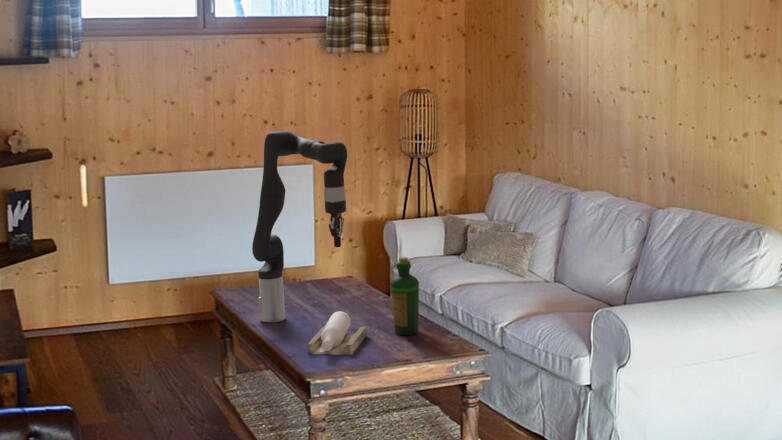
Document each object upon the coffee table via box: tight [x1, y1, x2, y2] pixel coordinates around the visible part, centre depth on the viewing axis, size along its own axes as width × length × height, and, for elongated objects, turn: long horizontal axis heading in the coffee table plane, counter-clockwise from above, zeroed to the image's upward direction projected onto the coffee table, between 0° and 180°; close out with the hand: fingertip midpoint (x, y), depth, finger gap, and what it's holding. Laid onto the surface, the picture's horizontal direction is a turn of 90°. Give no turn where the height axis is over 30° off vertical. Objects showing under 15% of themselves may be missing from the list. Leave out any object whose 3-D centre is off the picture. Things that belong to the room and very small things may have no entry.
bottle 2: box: [389, 256, 420, 336], centre depth 395 cm, size 11×11×28 cm
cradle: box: [307, 325, 368, 356], centre depth 386 cm, size 16×22×4 cm
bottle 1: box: [321, 310, 352, 351], centre depth 385 cm, size 8×8×30 cm
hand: (337, 246), depth 387 cm, fingers closed
